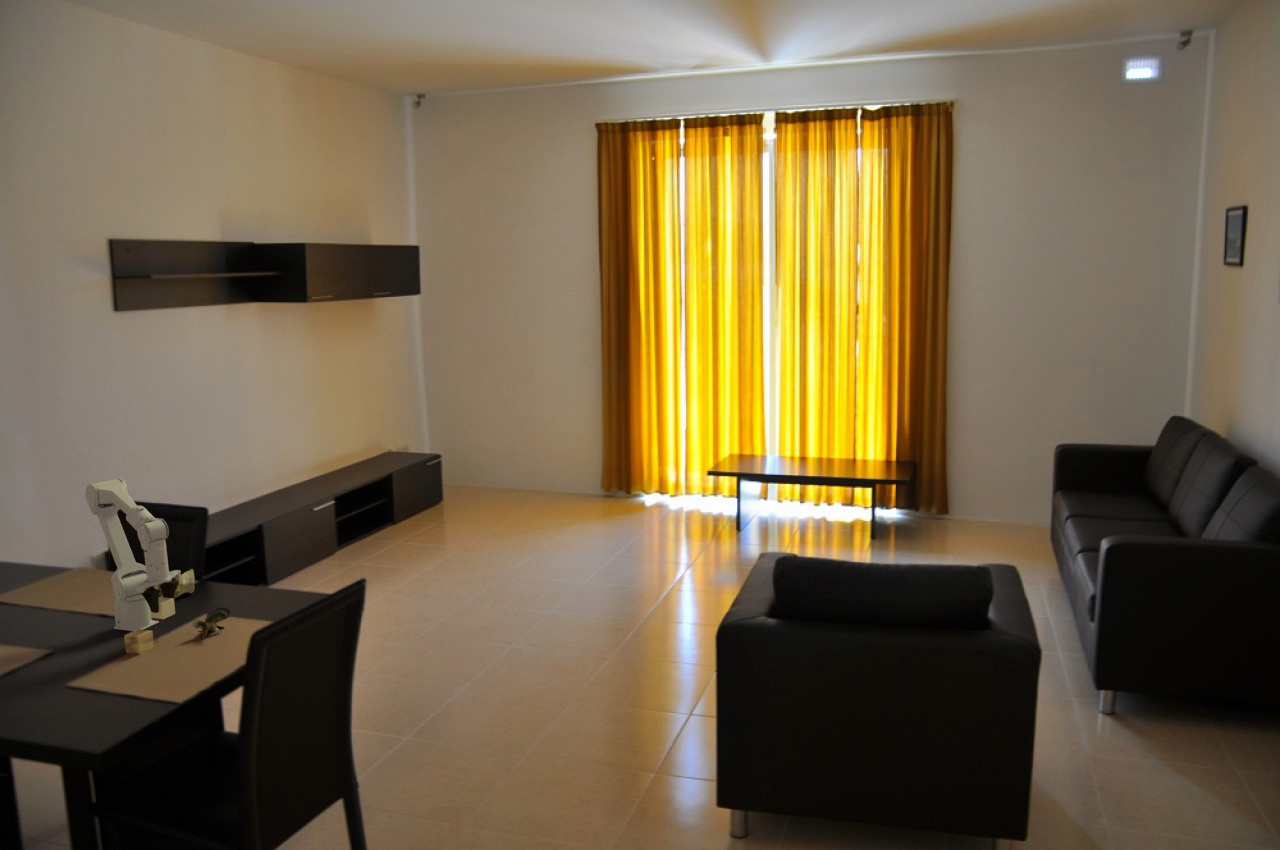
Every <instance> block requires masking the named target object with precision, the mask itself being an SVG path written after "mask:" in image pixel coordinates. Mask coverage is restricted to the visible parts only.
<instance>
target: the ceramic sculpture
mask: <svg viewBox="0 0 1280 850" xmlns="http://www.w3.org/2000/svg"><path fill="white" fill-rule="evenodd" d="M194 572H195V571H194V569H193V568H191V569H189V570H187V571H185V572H183V573H182V574H181V577H179V578H175V580H178V581H179V584H178V586H177V588H176V591H175V594H174V599H177V598H178V597H180V596H182V595H184V594H192V593H193V592H194V591H195V588H196V587H195V573H194ZM155 589H156V590H160V593H159V598H161V597H163V593H162V590H161V587H160V585H158V586H156V587H155Z"/></svg>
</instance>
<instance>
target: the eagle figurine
mask: <svg viewBox="0 0 1280 850" xmlns="http://www.w3.org/2000/svg"><path fill="white" fill-rule="evenodd" d="M230 615H231V610H230V609H229V608H228V607H217V608H215V609H214V610H212V611H210V612H208V613H207V614H206V617H205V619H204V621H203V620H202V619H196V620H195V621H194V622H192V625H191V626H192V627H193V629H199V628H200V629H201V630H198V631H197V632H198V633H202V639H203V638H204V639H206V637H207V636H208V632H209V631H211V632H215V633H218V634H219V633H221V632H220V629H219V628H223V627H222V626H221V625H219V624H218V623H220V622H222V621H224V620H227V619H228V618H229V617H230Z"/></svg>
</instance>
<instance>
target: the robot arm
mask: <svg viewBox="0 0 1280 850" xmlns="http://www.w3.org/2000/svg"><path fill="white" fill-rule="evenodd" d="M84 495H85V496H84V497H85V499H86V502H87V506H88V508H89V510H90V512H91V514H92V515H95V516H96V517H97V518H98V522H99V523H100V526H101V529H102V531H103V533H104V536H105V539H106V542H107V545H108V547H109V550H110V552H111V555H112V557H113V560H114V563H115V565H116V567H117V569H116V570H115V572H114V573H113V574H112V575H111V578H110V582H111V585H112V592H113V594H114V596H115V597H116V600H115V602H114V604H113V613H114V620H115V626H114V627H113V629H114V630H119V631H127V632H133V631H135V630H137V629H142V630H147V629H148V628H150V627H153V626H154V625H157V624H160V622H159V620H154V619H153V618H151V615H150V610H151V612H154V613H158V612H159V598H160V597H159V593H160V590H156V587H158V585H160V587H161V590H162V593H163V597H165V598H172V599H174V600H175V598H174V594H175V591H176V588H177V586H178V584H179V581H178V580H175V578H179V577H181V575H182V574H181V573H182V572H181V570H180V569H174V570H169V560H168V551H167V543H166V539H168V537H169V534H170V530H169V526H168V524H167V522H166V521H165V520H164V518H158V517H157V518H156V517H154V516H153V515H152V513H150V512H149V511H148V509H147V508H145V506H143V505H138V504H136V502H135V501H134V500H133V498H132V497H131V496H130V494H129V489H128V485H127V483H126V481H125V480H124V479H122V478H121V477H117V478H115V479H110V480H105V481H101V482H96V483H89V484H87V486H86V487H85V494H84ZM119 510H120V511H122V512H123V513H124V514H126V516H125V520H126V521H127V522H128V523H129V524H130V525H131V526H132V528H133V529H134V530H135V531H136V532H137V537H138V540H139V542H140V547H141V549H142V550H143V555H144V562H145V563H144V564H145V565H144V564H142V563H139V562H136V559H135V557H134V554H133V551H132V549H131V547H130V544H129V541H128V539H127V536H126V534H125V530H124V529H123V525H122V524H121V520H120V518H119V516H118V511H119Z"/></svg>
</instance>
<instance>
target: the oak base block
mask: <svg viewBox="0 0 1280 850" xmlns="http://www.w3.org/2000/svg"><path fill="white" fill-rule="evenodd" d="M153 631H154V630H150V629H149V630H147V629H144V630H142V629H137V630H135V631H130V632H129V633H126V634H124V635H123V637H124V646H125V652H126V654H133V653H137V654H136V655H142V654H144V653H146V652H148V651H147V650H149V649H151V650H153V649H154V648H155V643H154V642H155V641H154V632H153ZM153 647H154V648H153ZM152 648H153V649H152ZM145 651H146V652H145ZM149 651H150V650H149ZM143 652H144V653H143ZM141 653H142V654H141Z"/></svg>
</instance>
